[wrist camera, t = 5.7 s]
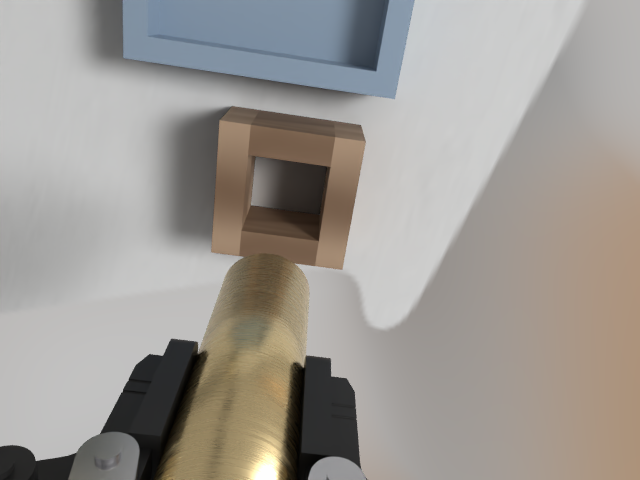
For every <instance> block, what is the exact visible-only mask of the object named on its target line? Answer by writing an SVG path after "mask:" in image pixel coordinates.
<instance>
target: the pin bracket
mask: <svg viewBox="0 0 640 480" xmlns="http://www.w3.org/2000/svg"><path fill="white" fill-rule="evenodd" d="M365 143H366V141H365V137H364V134H363V131H362V127H361V125H356V124H349V123H343V122H336V121H329V120H322V119H315V118H309V117H302V116H295V115H288V114H282V113H275V112H268V111H261V110H255V109H248V108H241V107H234V106H232V107H231V108H230V109H229V111H228V112H227V113H226V114H225V115H224V116H223V117H222V118H221V119H220V121H219V137H218V153H217V169H216V185H215V201H214V217H213V233H212V249H211V252H213V253H220V254H228V255H236V256H243V257H246V256H249V255H253V254H259V253H269V254H275V255H279V256H282V257H284V258H286V259H288V260H290V261H291V262H293V263H296V264H303V265H311V266H318V267H326V268H333V269H341V270H342V268H343V263H344V257H345V252H346V246H347V241H348V235H349V230H350V225H351V219H352V214H353V208H354V203H355V197H356V192H357V186H358V181H359V176H360V170H361V165H362V159H363V154H364V148H365ZM255 156H258V157H265V158H272V159H279V160H286V161H293V162H300V163H307V164H314V165H321V166H327V170H326V177H325V183H324V190H323V196H322V203H321V209H320V215H317V214H309V213H302V212H295V211H288V210H280V209H273V208H266V207H259V206H251V198H252V187H253V176H254V166H255Z"/></svg>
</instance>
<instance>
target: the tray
mask: <svg viewBox="0 0 640 480" xmlns="http://www.w3.org/2000/svg"><path fill="white" fill-rule="evenodd" d="M413 5H414V0H123V58H126V59H133V60H139V61H146V62H153V63H159V64H166V65H173V66H179V67H186V68H192V69H199V70H206V71H212V72H219V73H226V74H232V75H239V76H245V77H252V78H259V79H265V80H272V81H279V82H285V83H292V84H299V85H305V86H312V87H318V88H325V89H332V90H338V91H345V92H352V93H358V94H365V95H371V96H378V97H385V98H391V99H395V95H396V90H397V85H398V80H399V75H400V70H401V65H402V60H403V55H404V50H405V45H406V40H407V35H408V30H409V25H410V20H411V15H412V10H413Z"/></svg>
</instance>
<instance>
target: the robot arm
mask: <svg viewBox="0 0 640 480" xmlns="http://www.w3.org/2000/svg"><path fill="white" fill-rule="evenodd" d="M197 355H198V342H194V341H187V340H178V339H171V341H170V342H169V344H168V346H167V349H166V351H165V353H164V355H163V356H159V355H151V354H149V355H148V356H147V357H145V358H144V359H143V360H142V361H140V362H139V363H138V364H137V365H136V366H135V368H134V370H133V372H132V374H131V376H130V378H129V381H128V382H127V383H126V385H125V387H124V389H123V393H121V395H120V397H119V399H118V401H117V403H116V404H115V406H114V408H113V410H112V412H111V414H110V416H109V418H108V420H107V422H106V424H105V426H104V427H103V429H102V431H101V433H100V434H99V435H97V436H95V437H92V438H91V439H89V440H87V441H86V442H85V443H84V444H83V445H82V446H81V447H80V448H79V450H78V451H77V453H75V454H72V455H69V456H65V457H59V458H53V459H46V460H40V461H35V457H34V455H33V453H32V452H31V451H30V450H28V449H27V448H24V447H21V446H13V445H10V446H2V447H0V480H153V479H154V476H155V473H156V470H157V468H158V465H159V462H160V460H161V457H162V454H163V451H164V448H165V446H166V443H167V440H168V437H169V434H170V431H171V429H172V426H173V423H174V420H175V417H176V414H177V412H178V409H179V406H180V403H181V400H182V397H183V395H184V392H185V389H186V386H187V383H188V380H189V378H190V375H191V372H192V369H193V366H194V364H195V361H196V358H197ZM355 407H356V405H355V392H354V390H353V388H352V387H351V385H350V384H349V382H348V380H347V379H346V378H339V377H331V359H330V358H323V357H314V356H306V357H305V362H304V369H303V385H302V401H301V417H300V433H299V449H298V465H297V480H367V478H366V477H365V475H364V473H363V472H362V469H361V466H360V457H359V445H358V431H357V420H356V409H355Z"/></svg>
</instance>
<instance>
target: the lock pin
mask: <svg viewBox="0 0 640 480" xmlns="http://www.w3.org/2000/svg"><path fill="white" fill-rule="evenodd" d="M308 306H309V285H308V282H307V279H306V277H305V275H304V273H303V272H302V271H301V269H300V268H299V267H298V266H297V265H295V264H294V263H293V262H291V261H290V260H288V259H286V258H284V257H282V256H279V255H275V254H269V253H259V254H253V255H249V256H246V257H244V258H242V259H240V260H239V261H237V262H236V263H235V264H234V265H233V266H232V267H231V268H230V269H229V270H228V272H227V274H226V276H225V279H224V281H223V284H222V287H221V290H220V293H219V295H218V298H217V302H216V304H215V307H214V310H213V312H212V315H211V318H210V321H209V324H208V326H207V329H206V332H205V335H204V338H203V341H202V344H201V347H200V349H199V352H198V355H197V358H196V361H195V364H194V366H193V369H192V372H191V375H190V378H189V380H188V383H187V386H186V389H185V392H184V395H183V397H182V400H181V403H180V406H179V409H178V412H177V414H176V417H175V420H174V423H173V426H172V429H171V431H170V434H169V437H168V440H167V443H166V446H165V448H164V451H163V454H162V457H161V460H160V462H159V465H158V468H157V470H156V473H155V476H154V479H153V480H297V465H298V449H299V433H300V417H301V401H302V385H303V369H304V362H305V357H306V343H307V342H306V341H307V325H308V308H309V307H308Z"/></svg>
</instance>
